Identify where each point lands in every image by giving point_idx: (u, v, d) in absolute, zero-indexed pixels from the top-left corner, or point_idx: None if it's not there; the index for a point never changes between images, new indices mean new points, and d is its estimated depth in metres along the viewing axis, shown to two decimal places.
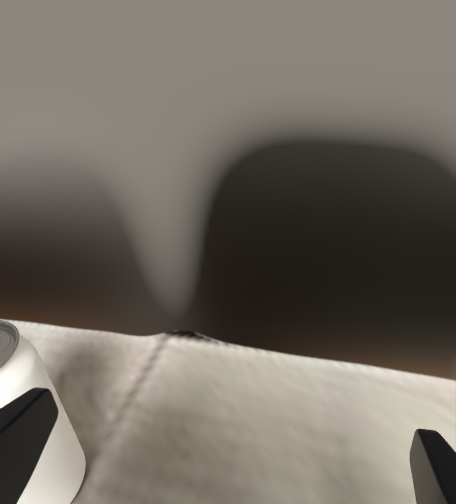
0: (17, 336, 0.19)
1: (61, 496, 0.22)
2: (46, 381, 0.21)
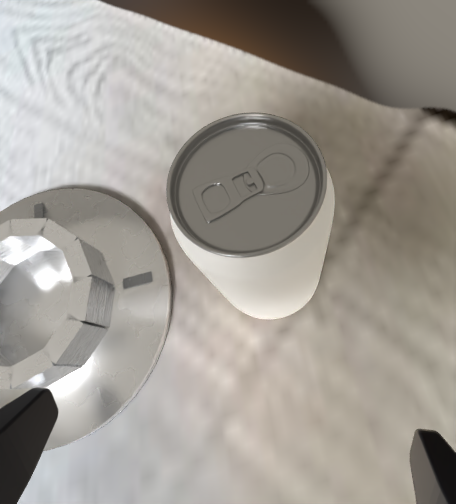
0: (323, 165, 0.12)
1: (303, 303, 0.21)
2: None
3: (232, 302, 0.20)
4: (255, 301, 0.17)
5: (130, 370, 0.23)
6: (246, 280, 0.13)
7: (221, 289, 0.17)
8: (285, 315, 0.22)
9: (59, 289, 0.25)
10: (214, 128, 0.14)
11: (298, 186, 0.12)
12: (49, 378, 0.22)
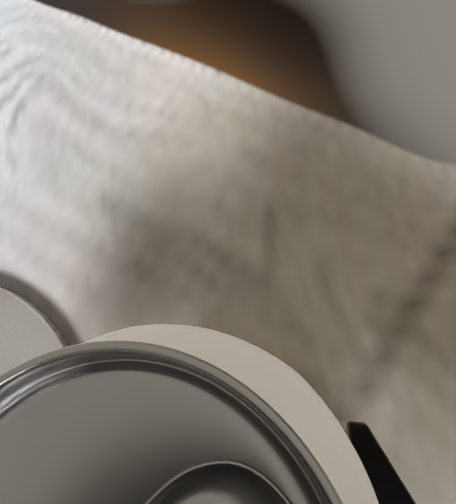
0: None
1: None
2: None
3: None
4: None
5: None
6: None
7: None
8: None
9: None
10: (39, 369, 0.05)
11: None
12: None
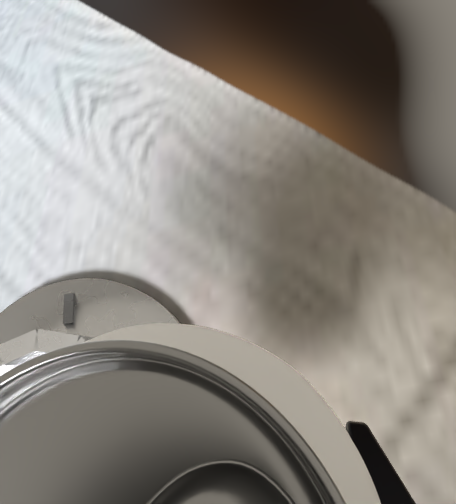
0: None
1: None
2: None
3: None
4: None
5: None
6: None
7: None
8: None
9: None
10: (41, 369, 0.05)
11: None
12: None
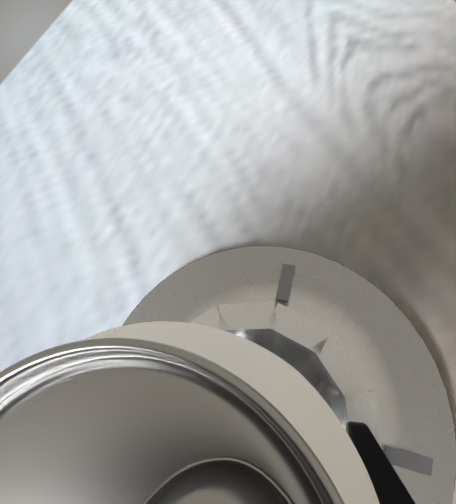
0: None
1: None
2: None
3: None
4: None
5: None
6: None
7: None
8: None
9: None
10: (39, 366, 0.05)
11: None
12: None
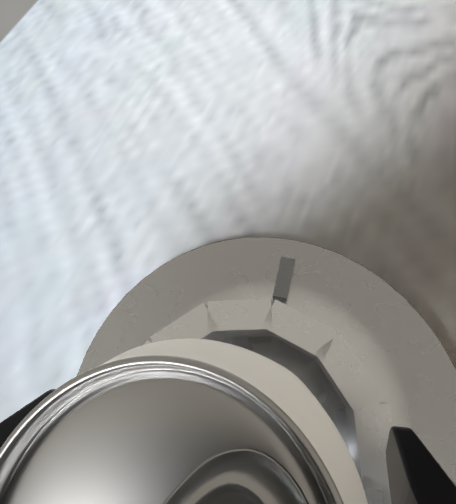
0: None
1: None
2: None
3: None
4: None
5: None
6: None
7: None
8: None
9: None
10: (97, 376, 0.06)
11: None
12: None
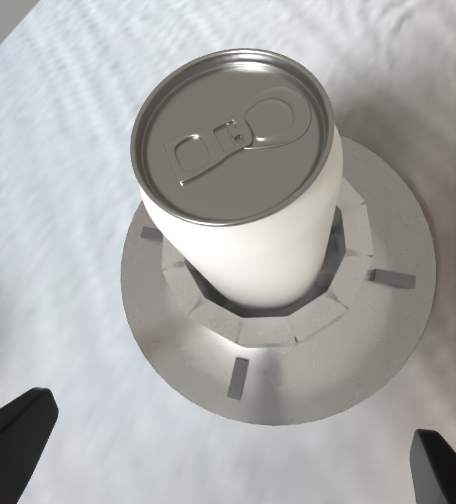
0: (330, 110, 0.09)
1: (303, 293, 0.18)
2: None
3: (220, 291, 0.17)
4: (244, 288, 0.14)
5: (354, 380, 0.18)
6: (230, 259, 0.10)
7: (204, 273, 0.14)
8: (282, 307, 0.19)
9: None
10: (194, 71, 0.11)
11: (297, 138, 0.10)
12: (265, 346, 0.18)
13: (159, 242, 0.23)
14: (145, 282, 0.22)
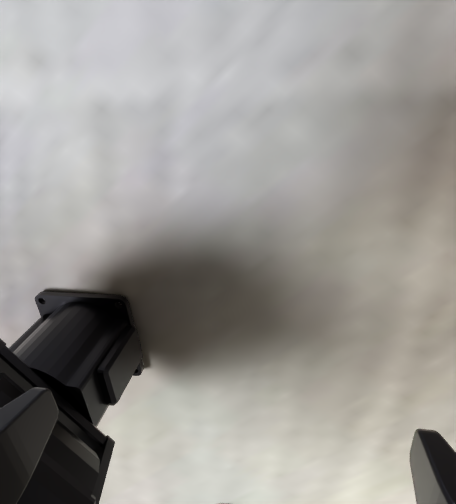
0: None
1: None
2: None
3: None
4: None
5: None
6: None
7: None
8: None
9: None
10: None
11: None
12: None
13: None
14: None
